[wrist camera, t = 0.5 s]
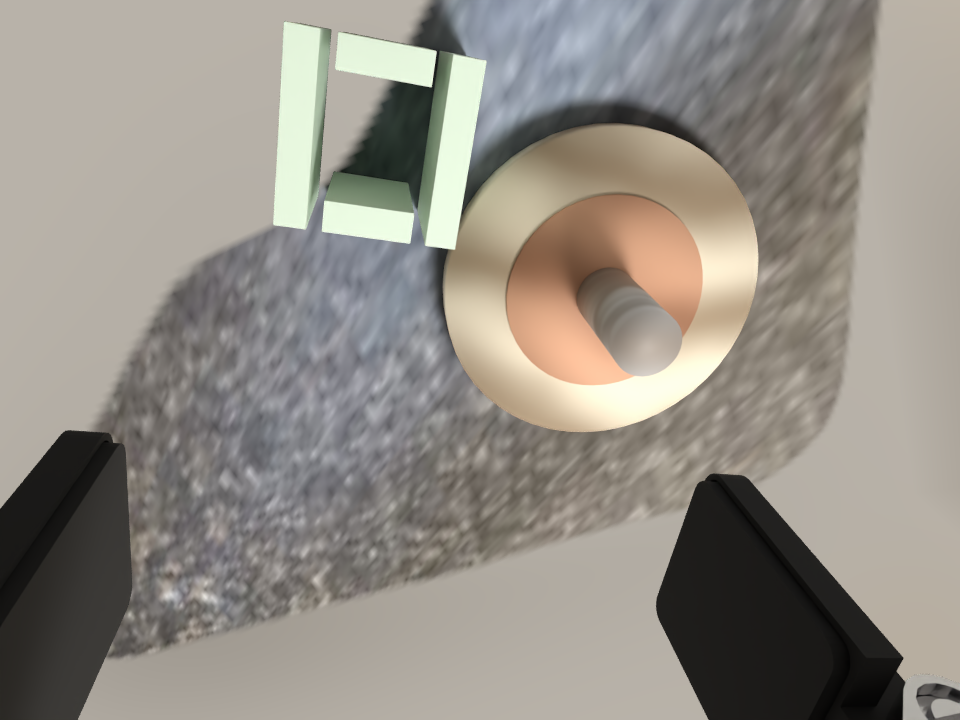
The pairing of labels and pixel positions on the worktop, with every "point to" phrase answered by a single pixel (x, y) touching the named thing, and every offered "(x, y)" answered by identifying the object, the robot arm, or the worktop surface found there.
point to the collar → (360, 198)
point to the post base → (550, 192)
